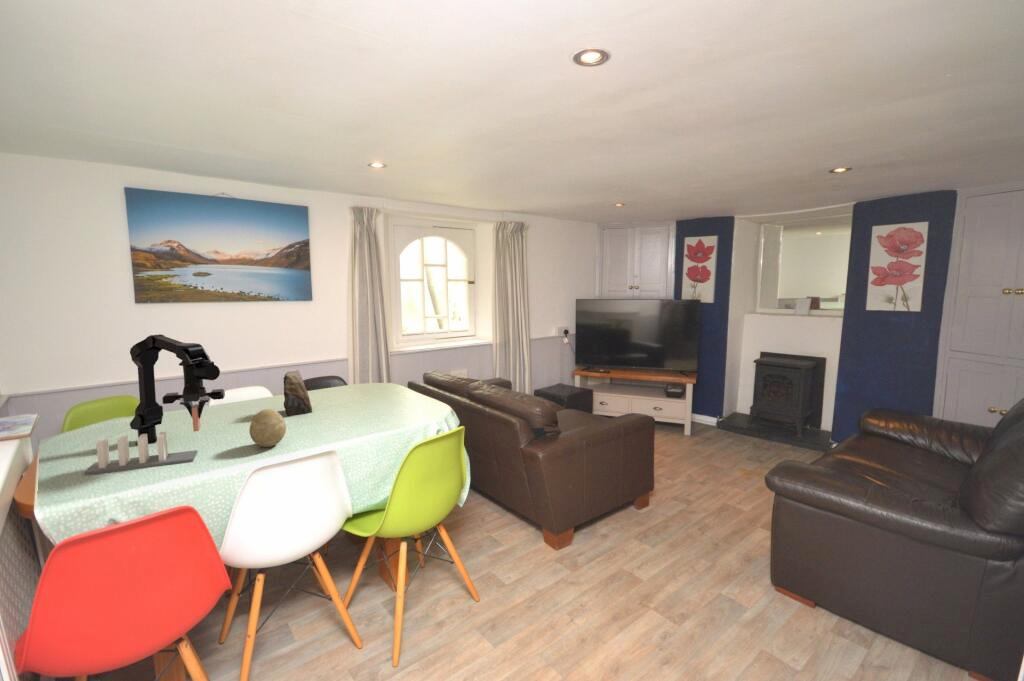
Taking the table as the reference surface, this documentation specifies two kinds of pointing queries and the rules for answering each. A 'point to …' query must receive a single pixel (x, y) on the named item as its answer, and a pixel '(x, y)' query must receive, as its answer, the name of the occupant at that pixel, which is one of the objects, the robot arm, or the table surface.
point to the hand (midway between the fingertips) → (196, 418)
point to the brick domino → (196, 418)
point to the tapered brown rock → (295, 395)
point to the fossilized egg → (267, 428)
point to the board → (135, 464)
